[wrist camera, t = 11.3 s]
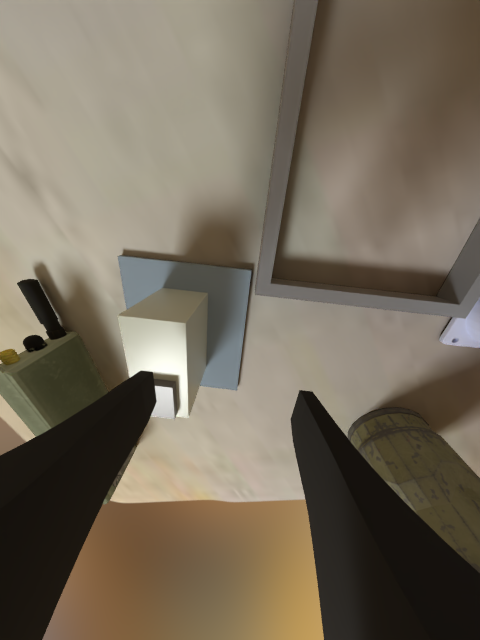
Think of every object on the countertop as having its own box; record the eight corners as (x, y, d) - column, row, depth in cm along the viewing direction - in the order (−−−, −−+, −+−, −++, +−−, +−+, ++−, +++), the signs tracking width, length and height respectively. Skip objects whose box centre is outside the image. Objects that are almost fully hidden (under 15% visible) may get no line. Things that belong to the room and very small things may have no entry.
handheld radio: (120, 446, 28) (23, 278, 18) (141, 445, 28) (56, 274, 18) (85, 505, 22) (-92, 302, 12) (113, 504, 22) (-43, 297, 11)
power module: (208, 292, 16) (182, 328, 10) (206, 366, 20) (185, 425, 14) (162, 287, 16) (110, 319, 10) (168, 362, 20) (131, 418, 14)
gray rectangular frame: (711, -147, 8) (851, -263, 6) (441, 308, 16) (465, 318, 14) (317, -177, 8) (337, -297, 6) (255, 287, 16) (255, 294, 15)
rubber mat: (251, 269, 16) (251, 270, 15) (237, 387, 21) (236, 390, 21) (121, 255, 16) (117, 255, 16) (140, 375, 22) (138, 378, 21)
